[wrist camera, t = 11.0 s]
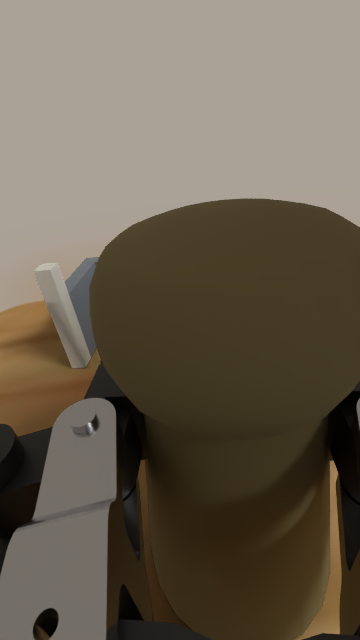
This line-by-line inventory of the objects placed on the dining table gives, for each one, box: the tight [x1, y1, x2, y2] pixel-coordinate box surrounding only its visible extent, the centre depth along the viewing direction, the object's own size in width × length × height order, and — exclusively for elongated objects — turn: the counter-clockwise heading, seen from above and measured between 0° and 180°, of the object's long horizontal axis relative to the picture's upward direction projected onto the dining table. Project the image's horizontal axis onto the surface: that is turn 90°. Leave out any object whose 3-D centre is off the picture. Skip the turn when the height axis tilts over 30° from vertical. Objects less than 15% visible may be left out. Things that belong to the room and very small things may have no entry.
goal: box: [33, 257, 99, 368], centre depth 20 cm, size 20×7×7 cm, turn 86°
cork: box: [89, 199, 360, 640], centre depth 8 cm, size 6×6×11 cm
